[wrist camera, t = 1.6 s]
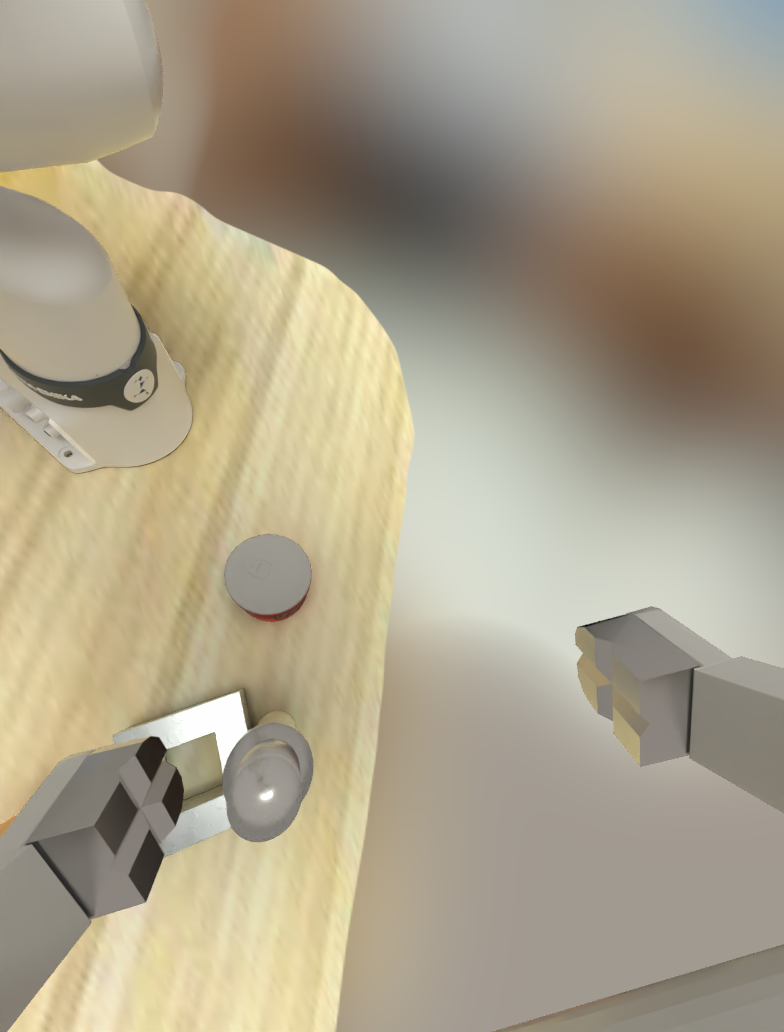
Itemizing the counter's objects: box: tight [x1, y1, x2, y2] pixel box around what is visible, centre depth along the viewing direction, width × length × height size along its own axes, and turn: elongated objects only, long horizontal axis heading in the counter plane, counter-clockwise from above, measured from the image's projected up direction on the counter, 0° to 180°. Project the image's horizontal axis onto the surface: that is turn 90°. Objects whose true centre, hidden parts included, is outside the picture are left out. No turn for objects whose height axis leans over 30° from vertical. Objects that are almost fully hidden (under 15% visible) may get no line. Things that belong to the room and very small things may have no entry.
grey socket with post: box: [113, 688, 313, 858], centre depth 31 cm, size 16×11×20 cm
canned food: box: [224, 534, 311, 621], centre depth 42 cm, size 8×8×11 cm
